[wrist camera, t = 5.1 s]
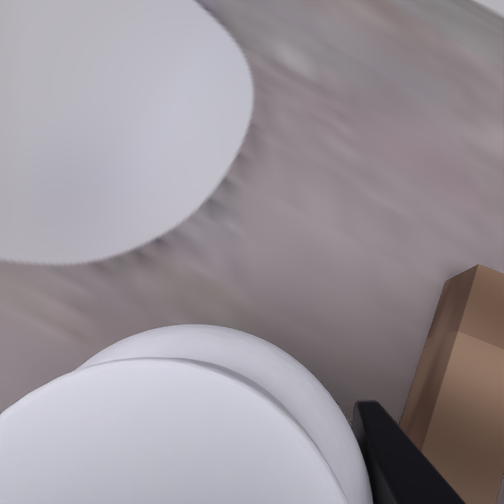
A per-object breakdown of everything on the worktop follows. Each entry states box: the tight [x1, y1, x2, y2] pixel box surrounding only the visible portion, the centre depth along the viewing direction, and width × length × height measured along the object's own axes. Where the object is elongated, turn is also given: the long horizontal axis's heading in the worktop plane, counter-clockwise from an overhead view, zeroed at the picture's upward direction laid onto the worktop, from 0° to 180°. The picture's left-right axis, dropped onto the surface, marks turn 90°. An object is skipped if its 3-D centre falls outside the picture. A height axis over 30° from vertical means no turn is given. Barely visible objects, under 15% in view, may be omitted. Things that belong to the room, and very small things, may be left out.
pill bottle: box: [0, 324, 373, 504], centre depth 10 cm, size 6×6×11 cm
